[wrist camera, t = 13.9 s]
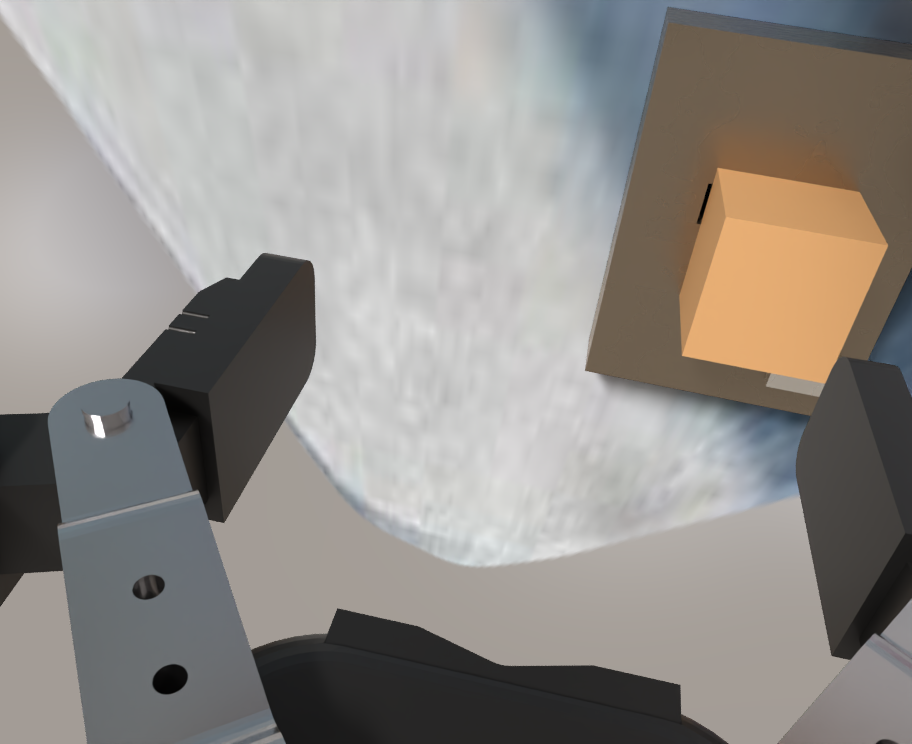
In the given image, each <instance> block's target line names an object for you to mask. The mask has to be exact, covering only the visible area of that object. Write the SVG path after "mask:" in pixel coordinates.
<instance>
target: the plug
mask: <svg viewBox="0 0 912 744" xmlns="http://www.w3.org/2000/svg"><path fill="white" fill-rule="evenodd" d="M887 247H888V244H887V242H886V240H885V238H884V237H883V235H882V233H881V231H880V229H879V227H878V225H877V223H876V222H875V220H874V218H873V216H872V214H871V212H870V210H869V208H868V207H867V205H866V203H865V201H864V199H863V197H862V195H861V194H860V192H857V191H851V190H845V189H839V188H833V187H828V186H822V185H816V184H810V183H804V182H798V181H792V180H786V179H781V178H775V177H769V176H763V175H757V174H751V173H745V172H739V171H734V170H728V169H722V168H717V172H716V175H715V178H714V182H713V185H712V188H711V192H710V195H709V198H708V202H707V205H706V208H705V212H704V215H703V218H702V222H701V225H700V228H699V232H698V235H697V238H696V242H695V245H694V248H693V252H692V255H691V259H690V262H689V265H688V269H687V272H686V275H685V279H684V282H683V285H682V289H681V292H680V295H679V301H680V323H681V345H682V356H685V357H690V358H695V359H701V360H706V361H711V362H716V363H721V364H726V365H731V366H737V367H742V368H747V369H752V370H757V371H762V372H767V373H772V374H778V375H783V376H788V377H793V378H798V379H803V380H808V381H814V382H819V383H824V384H825V383H826V381H827V378H828V376H829V374H830V372H831V370H832V368H833V366H834V364H835V363H836V361H837V358H838V356H839V354H840V352H841V350H842V347H843V345H844V343H845V341H846V338H847V336H848V334H849V332H850V330H851V327H852V325H853V323H854V321H855V318H856V316H857V314H858V312H859V310H860V307H861V305H862V303H863V301H864V298H865V296H866V294H867V292H868V290H869V287H870V285H871V283H872V281H873V278H874V276H875V274H876V272H877V270H878V267H879V265H880V263H881V261H882V258H883V256H884V254H885V252H886V249H887Z"/></svg>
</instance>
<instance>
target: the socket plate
mask: <svg viewBox="0 0 912 744" xmlns="http://www.w3.org/2000/svg"><path fill="white" fill-rule="evenodd" d="M717 168H722V169H728V170H734V171H739V172H745V173H751V174H757V175H763V176H769V177H775V178H781V179H786V180H792V181H798V182H804V183H810V184H816V185H822V186H828V187H833V188H839V189H845V190H851V191H857V192H860V194H861V195H862V197H863V199H864V201H865V203H866V205H867V207H868V208H869V210H870V212H871V214H872V216H873V218H874V220H875V222H876V223H877V225H878V227H879V229H880V231H881V233H882V235H883V237H884V238H885V240H886V242H887V244H888V247H887V249H886V252H885V254H884V256H883V258H882V261H881V263H880V265H879V267H878V270H877V272H876V274H875V276H874V278H873V281H872V283H871V285H870V287H869V290H868V292H867V294H866V296H865V298H864V301H863V303H862V305H861V307H860V310H859V312H858V314H857V316H856V318H855V321H854V323H853V325H852V327H851V330H850V332H849V334H848V336H847V338H846V341H845V343H844V345H843V347H842V350H841V352H840V354H839V356H838V358H837V360H838V359H839V358H841V357H850V358H856V359H861V360H868V358H869V356H870V354H871V352H872V350H873V348H874V345H875V343H876V341H877V339H878V337H879V335H880V333H881V331H882V329H883V327H884V325H885V322H886V320H887V318H888V316H889V314H890V312H891V310H892V308H893V306H894V304H895V302H896V299H897V297H898V295H899V293H900V291H901V289H902V287H903V285H904V283H905V281H906V278H907V276H908V274H909V272H910V270H911V268H912V44H907V43H900V42H894V41H887V40H880V39H874V38H867V37H861V36H854V35H848V34H841V33H835V32H828V31H821V30H815V29H808V28H802V27H795V26H789V25H782V24H776V23H769V22H763V21H756V20H749V19H743V18H736V17H730V16H723V15H717V14H710V13H704V12H697V11H690V10H684V9H677V8H671V7H668V8H667V12H666V16H665V20H664V25H663V29H662V33H661V37H660V41H659V46H658V50H657V54H656V58H655V63H654V67H653V71H652V75H651V80H650V84H649V88H648V92H647V96H646V101H645V105H644V109H643V113H642V118H641V122H640V126H639V130H638V134H637V139H636V143H635V147H634V151H633V156H632V160H631V164H630V168H629V173H628V177H627V181H626V185H625V189H624V194H623V198H622V202H621V206H620V211H619V215H618V219H617V223H616V228H615V232H614V236H613V240H612V244H611V249H610V253H609V257H608V261H607V266H606V270H605V274H604V278H603V282H602V287H601V291H600V295H599V299H598V304H597V308H596V312H595V316H594V321H593V325H592V329H591V333H590V337H589V344H588V352H587V360H586V367H585V371H589V372H594V373H599V374H604V375H609V376H614V377H619V378H624V379H629V380H634V381H639V382H644V383H649V384H654V385H659V386H664V387H669V388H674V389H679V390H684V391H689V392H694V393H699V394H704V395H709V396H714V397H719V398H724V399H729V400H734V401H739V402H744V403H749V404H754V405H759V406H764V407H769V408H774V409H779V410H784V411H789V412H794V413H799V414H804V415H809V416H811V414H812V412H813V410H814V408H815V405H816V403H817V401H818V399H819V396H820V394H821V392H822V390H823V387H824V385H825V384H824V383H819V382H814V381H808V380H803V379H798V378H793V377H788V376H783V375H778V374H772V373H767V372H762V371H757V370H752V369H747V368H742V367H737V366H731V365H726V364H721V363H716V362H711V361H706V360H701V359H695V358H690V357H685V356H682V345H681V323H680V301H679V295H680V292H681V289H682V285H683V282H684V279H685V275H686V272H687V269H688V265H689V262H690V259H691V255H692V252H693V248H694V245H695V242H696V238H697V235H698V232H699V228H700V225H701V222H702V218H703V215H704V212H705V208H706V205H707V202H708V199H704V197H705V193H706V190H707V187H708V184H713V182H714V178H715V175H716V172H717Z"/></svg>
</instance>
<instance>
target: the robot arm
mask: <svg viewBox="0 0 912 744" xmlns="http://www.w3.org/2000/svg"><path fill="white" fill-rule="evenodd" d="M315 349H316V325H315V277H314V268H313V265H312V263H311V262H310V261H308V260H302V259H297V258H291V257H285V256H280V255H274V254H268V253H263V254H261V255H260V256H259V257H258V258H257V260H256V261H255V262H254V263H253V264H252V266H251V267H250V268H249V269H248V270H247V271H246V273H245V274H244V275H243V276H242V277H241V279H240V280H237V279H232V278H225V279H223V280H221V281H219V282H217V283H215V284H213V285H211V286H209V287H207V288H205V289H203V290H201V291H200V292H198V294H197V295H196V296H195V297H194V298H193V299H192V300H191V301H190V303H189V304H188V305H187V306H186V307H185V308H184V309H183V312H182V314H179V315H178V316H177V317H176V318H175V319H174V321H173V322H172V323H171V324H170V325H169V329H168V330H165V331H164V332H163V333H162V334H161V335H160V336H159V337H158V338H157V339H156V341H155V342H154V343H153V344H152V345H151V346H150V347H149V348H148V349H147V351H146V352H145V353H144V354H143V355H142V356H141V357H140V358H139V360H138V361H137V362H136V363H135V364H134V365H133V366H132V367H131V369H130V370H129V371H128V372H127V373H126V374H125V375H124V376H123V377H122V379H107V380H100V381H96V382H92V383H88V384H86V385H83V386H80V387H78V388H76V389H74V390H72V391H70V392H69V393H67V394H65V395H64V396H63V397H62V398H60V399H59V400H58V401H57V402H56V403H55V405H54V406H53V408H52V409H51V411H50V413H41V414H40V413H39V414H5V415H0V606H1V605H2V604H3V602H4V601H5V599H6V598H7V597H8V595H9V594H10V592H11V591H12V590H13V588H14V587H15V585H16V584H17V582H18V581H19V580H20V578H21V577H22V576H23V574H24V573H34V572H49V571H63V573H64V581H65V588H66V595H67V602H68V610H69V617H70V624H71V631H72V638H73V645H74V652H75V660H76V667H77V674H78V682H79V689H80V696H81V703H82V710H83V718H84V724H85V732H86V739H87V744H728V743H727V742H726V741H724V740H723V739H722V738H720V737H719V736H718V735H716V734H715V733H714V732H712V731H710V730H709V729H707V728H705V727H704V726H702V725H701V724H699V723H697V722H696V721H694V720H692V719H690V718H688V717H686V716H684V715H682V714H681V694H680V685H678V684H674V683H669V682H665V681H660V680H656V679H651V678H647V677H642V676H638V675H633V674H629V673H624V672H620V671H615V670H611V669H606V668H602V667H597V666H504V665H499V664H496V663H493V662H491V661H489V660H487V659H485V658H483V657H481V656H479V655H477V654H475V653H473V652H470V651H469V650H466V649H464V648H462V647H460V646H458V645H456V644H454V643H452V642H450V641H448V640H446V639H444V638H441V637H439V636H437V635H435V634H433V633H431V632H429V631H427V630H425V629H423V628H421V627H418V626H414V625H409V624H405V623H400V622H396V621H391V620H387V619H382V618H378V617H373V616H369V615H365V614H360V613H356V612H351V611H347V610H342V609H337V611H336V614H335V616H334V619H333V621H332V624H331V626H330V629H329V631H328V634H312V635H303V636H295V637H291V638H287V639H282V640H278V641H274V642H272V643H269V644H266V645H263V646H260V647H257V648H254V649H252V650H251V648H250V645H249V642H248V639H247V636H246V633H245V630H244V627H243V624H242V621H241V618H240V615H239V612H238V609H237V606H236V602H235V599H234V596H233V594H232V590H231V587H230V584H229V581H228V578H227V575H226V572H225V569H224V566H223V562H222V560H221V557H220V554H219V551H218V547H217V544H216V541H215V538H214V535H213V532H212V529H211V526H210V523H209V520H213V521H217V522H222V523H224V522H225V521H226V519H227V517H228V516H229V514H230V512H231V510H232V509H233V507H234V505H235V503H236V502H237V500H238V498H239V497H240V495H241V493H242V492H243V490H244V488H245V486H246V485H247V483H248V481H249V479H250V478H251V476H252V474H253V473H254V471H255V469H256V468H257V466H258V464H259V462H260V461H261V459H262V457H263V456H264V454H265V452H266V450H267V449H268V447H269V445H270V443H271V442H272V440H273V438H274V437H275V435H276V433H277V432H278V430H279V428H280V426H281V425H282V423H283V421H284V420H285V418H286V416H287V414H288V413H289V411H290V409H291V408H292V406H293V404H294V402H295V401H296V399H297V397H298V396H299V394H300V392H301V390H302V389H303V387H304V385H305V384H306V382H307V380H308V378H309V375H310V373H311V370H312V366H313V362H314V357H315ZM796 477H797V483H798V488H799V493H800V498H801V503H802V508H803V513H804V518H805V523H806V528H807V533H808V538H809V544H810V549H811V554H812V558H813V564H814V569H815V574H816V579H817V583H818V589H819V594H820V600H821V605H822V610H823V615H824V619H825V625H826V630H827V635H828V640H829V645H830V650H831V655H832V656H835V657H839V658H843V659H848V660H850V661H849V662H848V664H847V665H846V666H845V667H844V668H843V669H842V670H841V672H840V673H839V674H838V675H837V676H836V677H835V678H834V680H833V681H832V682H831V683H830V684H829V685H828V687H826V689H825V690H824V691H823V692H822V693H821V694H820V695H819V697H818V698H817V699H816V700H815V702H813V703H812V705H811V706H810V707H809V708H808V709H807V710H806V712H805V713H804V714H803V715H802V716H801V717H800V719H799V720H798V721H797V722H796V723H795V724H794V725H793V726H792V728H791V729H790V730H789V731H788V732H787V733H786V734H785V736H784V737H783V738H782V739H781V740H780V741H779V742H778V744H912V397H911V395H910V392H909V390H908V387H907V385H906V383H905V380H904V378H903V375H902V373H901V371H900V369H899V368H898V367H897V366H895V365H889V364H884V363H878V362H872V361H867V360H861V359H856V358H850V357H841V358H839V359H838V360H837V361H836V363H835V364H834V366H833V368H832V370H831V372H830V374H829V376H828V378H827V381H826V383H825V385H824V387H823V390H822V392H821V394H820V396H819V399H818V401H817V403H816V405H815V408H814V410H813V412H812V414H811V417H810V419H809V421H808V423H807V426H806V428H805V430H804V432H803V435H802V437H801V440H800V444H799V447H798V452H797V459H796Z"/></svg>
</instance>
